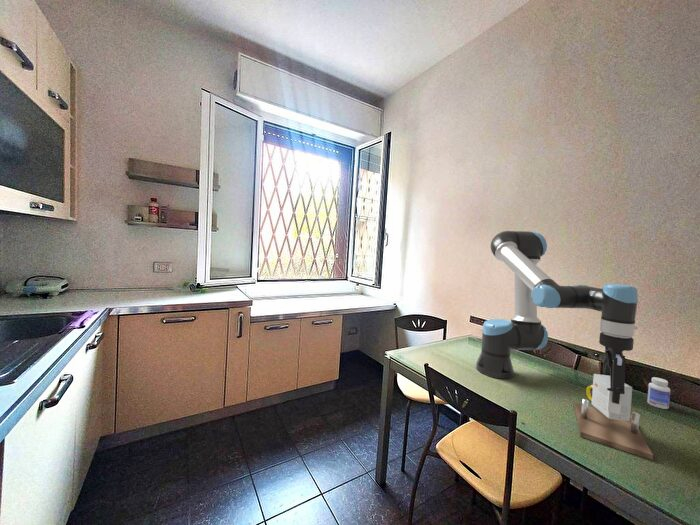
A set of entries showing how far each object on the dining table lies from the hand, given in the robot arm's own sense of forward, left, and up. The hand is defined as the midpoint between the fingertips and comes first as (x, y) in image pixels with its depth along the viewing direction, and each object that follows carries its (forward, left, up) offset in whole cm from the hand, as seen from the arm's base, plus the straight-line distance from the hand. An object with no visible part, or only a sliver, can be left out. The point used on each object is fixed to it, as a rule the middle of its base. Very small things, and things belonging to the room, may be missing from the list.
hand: (610, 404), depth 86 cm
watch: (-1, +19, -8) cm, 21 cm away
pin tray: (0, 0, -8) cm, 8 cm away
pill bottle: (+18, +31, -8) cm, 37 cm away
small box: (0, 0, -3) cm, 3 cm away
